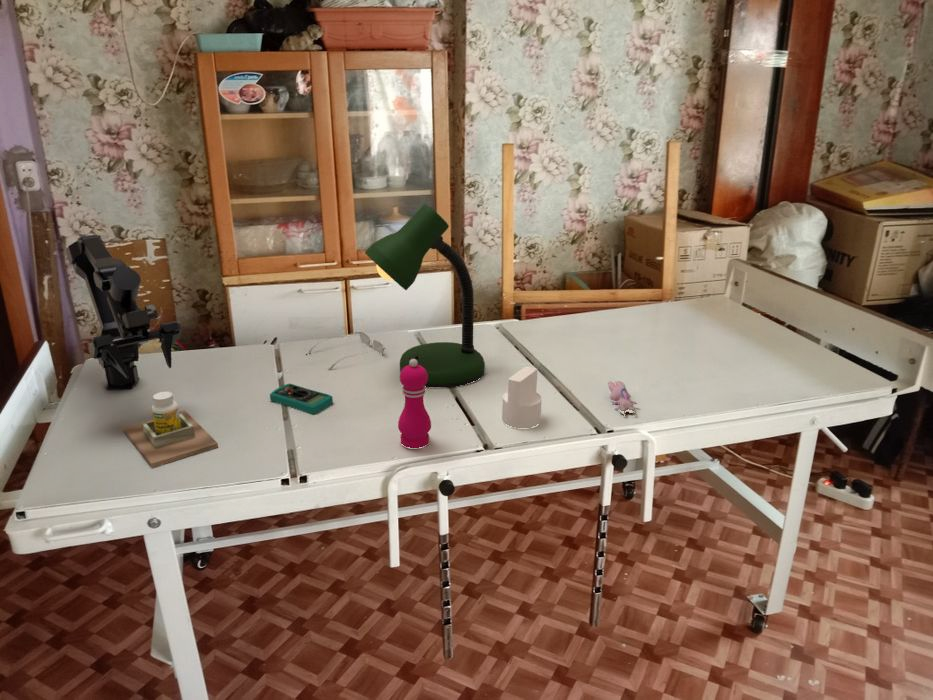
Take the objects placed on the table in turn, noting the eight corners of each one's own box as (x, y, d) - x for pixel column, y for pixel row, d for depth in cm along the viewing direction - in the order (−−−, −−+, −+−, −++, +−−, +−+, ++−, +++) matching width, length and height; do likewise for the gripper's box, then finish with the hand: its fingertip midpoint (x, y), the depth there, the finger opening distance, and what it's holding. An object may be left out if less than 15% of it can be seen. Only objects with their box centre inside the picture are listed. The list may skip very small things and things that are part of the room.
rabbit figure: (641, 422, 180) (624, 386, 192) (645, 401, 176) (627, 367, 189) (615, 423, 179) (600, 387, 192) (618, 402, 176) (602, 367, 189)
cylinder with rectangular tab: (529, 433, 171) (531, 385, 166) (495, 423, 175) (496, 376, 171) (547, 418, 178) (549, 371, 174) (513, 408, 182) (515, 363, 178)
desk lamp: (381, 398, 187) (375, 218, 170) (361, 364, 207) (353, 199, 190) (496, 381, 197) (501, 209, 180) (466, 350, 217) (468, 193, 200)
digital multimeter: (289, 391, 191) (288, 380, 190) (334, 404, 184) (333, 394, 183) (268, 402, 185) (267, 391, 184) (314, 416, 178) (313, 405, 177)
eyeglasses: (386, 358, 212) (386, 345, 210) (328, 373, 202) (327, 359, 200) (360, 341, 223) (359, 329, 222) (303, 355, 213) (302, 342, 212)
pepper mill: (398, 435, 169) (396, 353, 162) (430, 434, 170) (429, 352, 163) (398, 451, 163) (396, 366, 155) (432, 450, 163) (431, 365, 156)
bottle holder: (123, 431, 170) (120, 417, 169) (185, 413, 178) (183, 400, 177) (152, 467, 156) (149, 452, 154) (218, 447, 164) (216, 432, 162)
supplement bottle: (184, 428, 169) (178, 389, 166) (179, 439, 164) (173, 399, 161) (159, 429, 169) (153, 390, 165) (153, 441, 164) (146, 401, 160)
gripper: (84, 302, 160) (107, 367, 156) (173, 287, 171) (197, 346, 167) (81, 327, 168) (103, 388, 165) (166, 311, 179) (189, 368, 175)
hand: (149, 372), depth 168 cm, fingers open, 9 cm apart
